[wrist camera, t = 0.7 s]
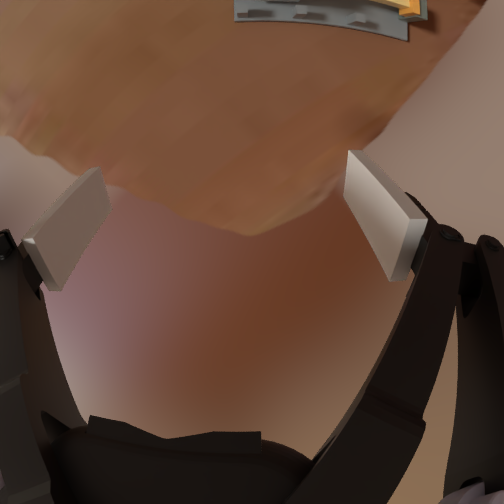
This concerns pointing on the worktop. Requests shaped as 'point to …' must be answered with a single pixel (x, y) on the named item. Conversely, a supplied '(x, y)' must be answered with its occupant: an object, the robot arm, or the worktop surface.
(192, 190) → the worktop surface
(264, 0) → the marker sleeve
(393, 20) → the cable comb
